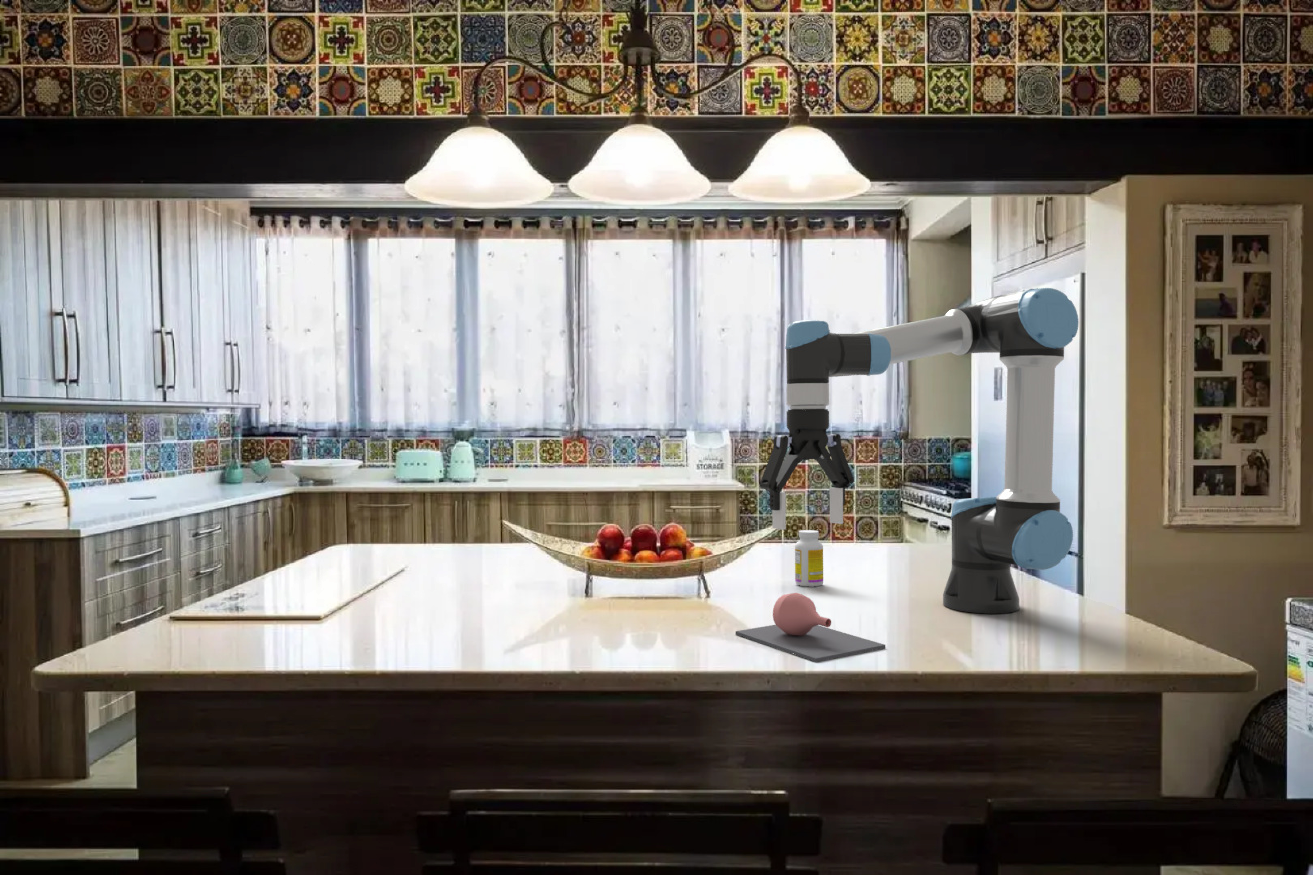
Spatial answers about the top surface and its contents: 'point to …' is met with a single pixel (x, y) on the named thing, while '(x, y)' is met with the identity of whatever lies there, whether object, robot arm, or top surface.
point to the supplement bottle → (809, 559)
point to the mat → (812, 642)
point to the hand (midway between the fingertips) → (808, 526)
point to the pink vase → (797, 614)
